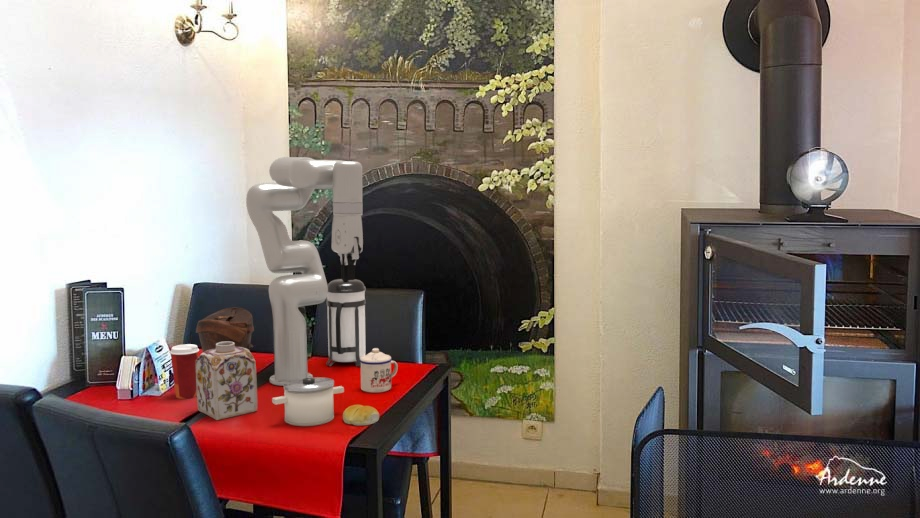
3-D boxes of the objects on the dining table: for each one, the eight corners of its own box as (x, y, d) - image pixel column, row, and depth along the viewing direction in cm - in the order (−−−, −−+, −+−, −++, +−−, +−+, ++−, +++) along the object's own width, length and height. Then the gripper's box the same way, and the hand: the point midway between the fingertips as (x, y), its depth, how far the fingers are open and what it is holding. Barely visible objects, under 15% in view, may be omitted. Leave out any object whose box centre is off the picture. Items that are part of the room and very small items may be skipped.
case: (204, 376, 230) (202, 318, 228) (191, 363, 247) (189, 308, 245) (262, 369, 239) (261, 313, 237) (246, 357, 256) (245, 305, 254)
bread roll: (356, 413, 194) (356, 398, 194) (384, 419, 190) (384, 404, 189) (335, 422, 187) (334, 407, 187) (363, 429, 183) (362, 413, 182)
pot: (265, 418, 190) (264, 387, 189) (332, 405, 200) (331, 376, 200) (283, 432, 180) (283, 399, 179) (353, 417, 190) (352, 386, 190)
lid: (276, 385, 191) (275, 378, 191) (321, 378, 198) (321, 371, 198) (295, 394, 180) (294, 387, 180) (342, 386, 188) (342, 379, 187)
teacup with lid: (371, 395, 210) (371, 354, 209) (354, 388, 217) (353, 348, 216) (406, 387, 218) (406, 347, 217) (388, 380, 225) (387, 342, 224)
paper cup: (206, 393, 212) (204, 344, 211) (188, 401, 205) (186, 350, 203) (183, 391, 215) (181, 342, 213) (165, 398, 207) (162, 348, 206)
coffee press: (313, 362, 248) (311, 271, 245) (356, 355, 257) (354, 267, 254) (337, 373, 234) (335, 277, 231) (382, 365, 243) (381, 273, 240)
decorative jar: (238, 401, 205) (236, 336, 203) (259, 411, 196) (256, 343, 194) (195, 411, 197) (192, 343, 195) (215, 421, 188) (212, 350, 186)
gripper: (322, 208, 199) (323, 277, 201) (346, 211, 186) (346, 285, 189) (349, 207, 203) (349, 275, 205) (373, 210, 190) (374, 282, 193)
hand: (348, 279), depth 197 cm, fingers closed
